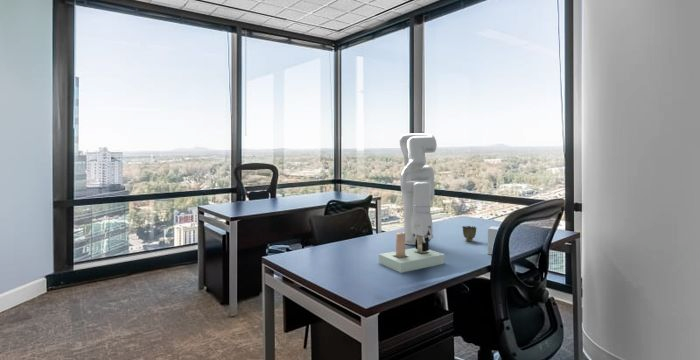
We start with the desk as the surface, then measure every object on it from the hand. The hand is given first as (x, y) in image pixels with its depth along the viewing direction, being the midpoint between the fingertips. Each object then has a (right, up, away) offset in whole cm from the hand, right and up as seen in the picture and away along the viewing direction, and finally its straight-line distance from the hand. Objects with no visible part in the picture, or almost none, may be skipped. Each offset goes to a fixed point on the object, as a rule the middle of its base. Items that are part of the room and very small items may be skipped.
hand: (422, 249), depth 169 cm
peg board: (-5, -7, -2) cm, 9 cm away
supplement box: (+39, -5, +15) cm, 42 cm away
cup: (+34, -3, +40) cm, 53 cm away
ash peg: (0, -5, 0) cm, 5 cm away
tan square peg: (-10, -6, -5) cm, 13 cm away
